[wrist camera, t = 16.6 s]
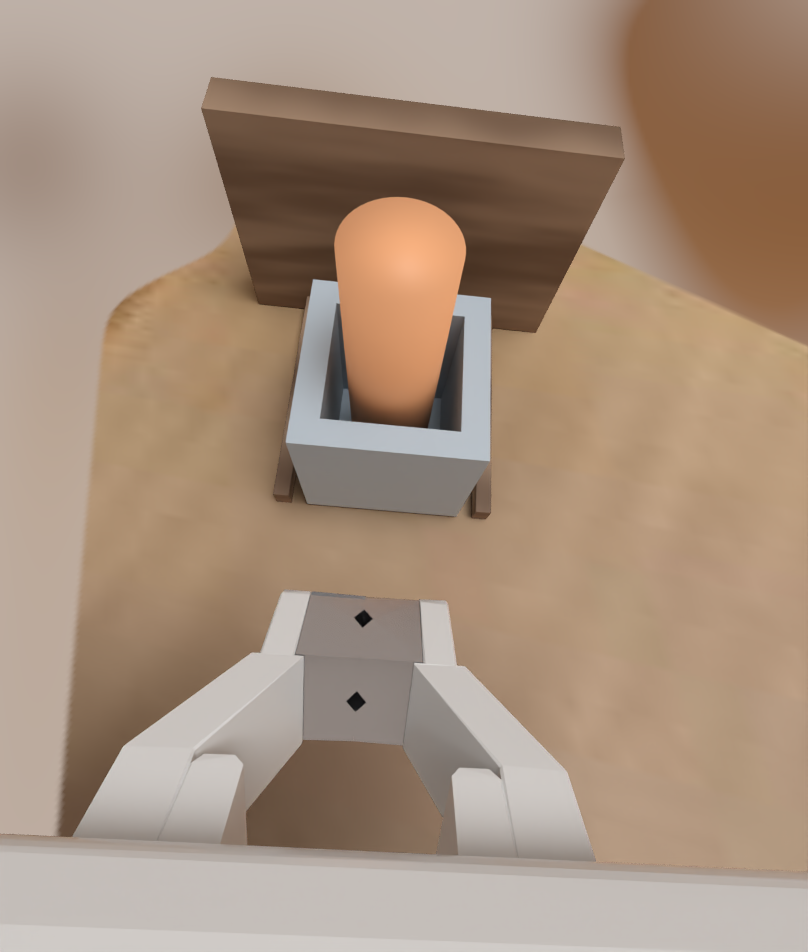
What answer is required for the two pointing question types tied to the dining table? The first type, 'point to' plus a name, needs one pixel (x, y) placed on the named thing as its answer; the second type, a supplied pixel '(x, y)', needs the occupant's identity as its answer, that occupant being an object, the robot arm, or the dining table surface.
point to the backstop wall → (406, 195)
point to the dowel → (396, 305)
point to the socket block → (387, 446)
